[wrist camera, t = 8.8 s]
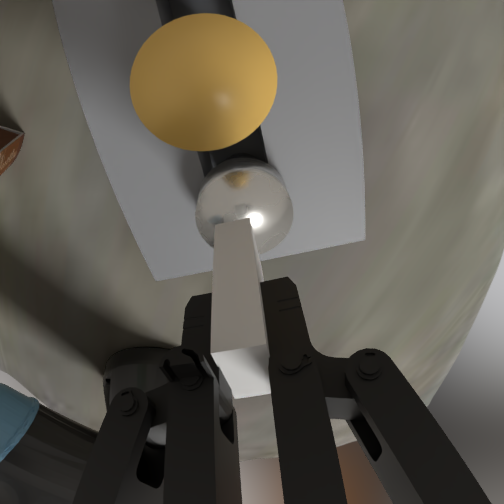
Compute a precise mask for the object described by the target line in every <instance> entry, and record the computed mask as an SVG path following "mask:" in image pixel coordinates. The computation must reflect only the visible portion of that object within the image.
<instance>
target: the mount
mask: <svg viewBox="0 0 504 504" xmlns="http://www.w3.org/2000/svg"><path fill="white" fill-rule="evenodd" d="M52 2H53V7H54V11H55V16H56V20H57V24H58V28H59V32H60V36H61V40H62V44H63V47H64V51H65V54H66V58H67V61H68V65H69V68H70V72H71V75H72V78H73V82H74V85H75V88H76V91H77V94H78V97H79V100H80V103H81V106H82V109H83V112H84V115H85V118H86V121H87V123H88V126H89V129H90V132H91V135H92V137H93V140H94V143H95V145H96V148H97V151H98V153H99V156H100V158H101V161H102V163H103V166H104V168H105V171H106V173H107V176H108V178H109V181H110V183H111V186H112V188H113V190H114V193H115V195H116V197H117V200H118V202H119V204H120V207H121V209H122V211H123V213H124V216H125V218H126V220H127V222H128V225H129V227H130V229H131V231H132V233H133V235H134V238H135V240H136V242H137V244H138V246H139V248H140V250H141V252H142V254H143V257H144V259H145V261H146V263H147V265H148V267H149V269H150V271H151V273H152V275H153V277H154V279H155V281H160V280H165V279H170V278H176V277H181V276H186V275H191V274H196V273H202V272H207V271H212V270H213V256H214V248H212V247H211V246H210V245H209V244H208V243H206V241H205V240H204V239H203V238H202V236H201V235H200V233H199V231H198V228H197V225H196V220H195V211H196V206H197V200H198V195H199V190H200V186H201V184H202V182H203V180H204V178H205V177H206V175H207V174H208V173H209V172H210V171H211V170H212V169H213V168H214V167H215V166H217V165H218V164H220V163H222V162H224V161H225V160H226V159H227V158H229V157H230V156H232V155H234V154H239V153H244V154H248V155H251V156H253V157H254V158H255V159H258V160H261V161H263V162H265V163H267V164H269V165H270V166H272V167H273V168H274V169H275V170H276V171H277V172H278V173H279V174H280V175H281V177H282V178H283V180H284V183H285V185H286V188H287V190H288V193H289V196H290V199H291V202H292V205H293V213H294V214H293V222H292V226H291V228H290V230H289V232H288V234H287V236H286V237H285V238H284V240H283V241H282V242H281V243H280V244H278V245H277V246H276V247H275V248H273V249H271V250H270V251H268V252H266V253H263V254H260V255H259V258H260V261H263V260H268V259H273V258H278V257H283V256H288V255H293V254H298V253H303V252H308V251H313V250H318V249H323V248H328V247H333V246H338V245H342V244H347V243H352V242H357V241H362V240H365V187H364V164H363V147H362V133H361V121H360V111H359V101H358V92H357V84H356V76H355V68H354V61H353V55H352V48H351V42H350V36H349V30H348V25H347V19H346V14H345V9H344V4H343V0H52ZM200 13H212V14H220V15H225V16H228V17H231V18H234V19H236V20H238V21H241V22H243V23H244V24H246V25H247V26H249V27H250V28H252V29H253V30H254V31H255V32H256V33H257V34H259V36H260V37H261V38H262V39H263V40H264V41H265V43H266V44H267V46H268V48H269V49H270V51H271V53H272V56H273V58H274V61H275V65H276V69H277V90H276V96H275V99H274V102H273V105H272V107H271V109H270V112H269V113H268V115H267V116H266V118H265V119H264V121H263V122H262V123H261V124H260V126H259V127H258V128H257V129H256V130H255V131H254V132H252V133H251V134H250V135H249V136H247V137H246V138H244V139H243V140H241V141H239V142H238V143H235V144H233V145H231V146H228V147H225V148H222V149H218V150H212V151H190V150H184V149H181V148H177V147H174V146H172V145H170V144H167V143H165V142H164V141H162V140H160V139H159V138H157V137H156V136H155V135H153V134H152V133H151V132H150V131H149V130H148V129H147V128H146V127H145V126H144V124H143V123H142V122H141V120H140V119H139V117H138V115H137V113H136V111H135V109H134V106H133V104H132V100H131V95H130V75H131V69H132V66H133V63H134V60H135V58H136V56H137V54H138V51H139V50H140V48H141V47H142V45H143V44H144V43H145V41H146V40H147V39H148V38H149V37H150V36H151V35H152V34H153V33H154V32H155V31H157V30H158V29H159V28H161V27H162V26H164V25H165V24H167V23H169V22H171V21H173V20H175V19H178V18H181V17H183V16H187V15H192V14H200Z"/></svg>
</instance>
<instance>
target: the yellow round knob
mask: <svg viewBox="0 0 504 504" xmlns="http://www.w3.org/2000/svg"><path fill="white" fill-rule="evenodd" d="M276 90H277V69H276V65H275V61H274V58H273V56H272V53H271V51H270V49H269V48H268V46H267V44H266V43H265V41H264V40H263V39H262V38H261V37H260V36H259V34H257V33H256V32H255V31H254V30H253V29H252V28H250V27H249V26H247V25H246V24H244V23H243V22H241V21H238V20H236V19H234V18H231V17H228V16H225V15H220V14H212V13H200V14H192V15H187V16H183V17H181V18H178V19H175V20H173V21H171V22H169V23H167V24H165V25H164V26H162V27H161V28H159V29H158V30H157V31H155V32H154V33H153V34H152V35H151V36H150V37H149V38H148V39H147V40H146V41H145V43H144V44H143V45H142V47H141V48H140V50H139V51H138V54H137V56H136V58H135V60H134V63H133V66H132V69H131V75H130V95H131V100H132V104H133V106H134V109H135V111H136V113H137V115H138V117H139V119H140V120H141V122H142V123H143V124H144V126H145V127H146V128H147V129H148V130H149V131H150V132H151V133H152V134H153V135H155V136H156V137H157V138H159V139H160V140H162V141H164V142H165V143H167V144H170V145H172V146H174V147H177V148H181V149H184V150H190V151H212V150H218V149H222V148H225V147H228V146H231V145H233V144H235V143H238V142H239V141H241V140H243V139H244V138H246V137H247V136H249V135H250V134H251V133H252V132H254V131H255V130H256V129H257V128H258V127H259V126H260V124H261V123H262V122H263V121H264V119H265V118H266V116H267V115H268V113H269V112H270V109H271V107H272V105H273V102H274V99H275V96H276Z"/></svg>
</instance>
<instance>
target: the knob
mask: <svg viewBox="0 0 504 504" xmlns="http://www.w3.org/2000/svg"><path fill="white" fill-rule="evenodd" d="M293 214H294V213H293V205H292V202H291V199H290V196H289V193H288V190H287V188H286V185H285V183H284V180H283V178H282V177H281V175H280V174H279V173H278V172H277V171H276V170H275V169H274V168H273V167H272V166H270V165H269V164H267V163H265V162H263V161H261V160H258V159H255V158H254V157H253V156H251V155H248V154H244V153H239V154H234V155H232V156H230V157H229V158H227V159H226V160H225V161H224V162H222V163H220V164H218V165H217V166H215V167H214V168H213V169H212V170H211V171H210V172H209V173H208V174H207V175H206V177H205V178H204V180H203V182H202V184H201V186H200V190H199V195H198V200H197V206H196V211H195V220H196V225H197V228H198V231H199V233H200V235H201V236H202V238H203V239H204V240H205V241H206V243H208V244H209V245H210V246H211V247H212V248H214V234H215V225H217V224H221V223H226V222H230V221H235V220H239V219H244V218H249V217H250V221H251V225H252V229H253V233H254V237H255V241H256V245H257V249H258V254H259V255H260V254H263V253H266V252H268V251H270V250H271V249H273V248H275V247H276V246H277V245H278V244H280V243H281V242H282V241H283V240H284V238H285V237H286V236H287V234H288V232H289V230H290V228H291V226H292V222H293Z"/></svg>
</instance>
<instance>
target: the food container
mask: <svg viewBox="0 0 504 504" xmlns="http://www.w3.org/2000/svg"><path fill="white" fill-rule="evenodd" d="M24 134H25V133H23V132H20V131H17V130H14V129H10V128H7V127H4V126H1V125H0V175H1V174H2V173H3V172H4V171H5V170H6V169H7V168H8V167H9V166H10V165H11V164H12V163H13V162H14V160H15V159H16V157H17V155H18V153H19V151H20V149H21V146H22V143H23V139H24Z"/></svg>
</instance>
